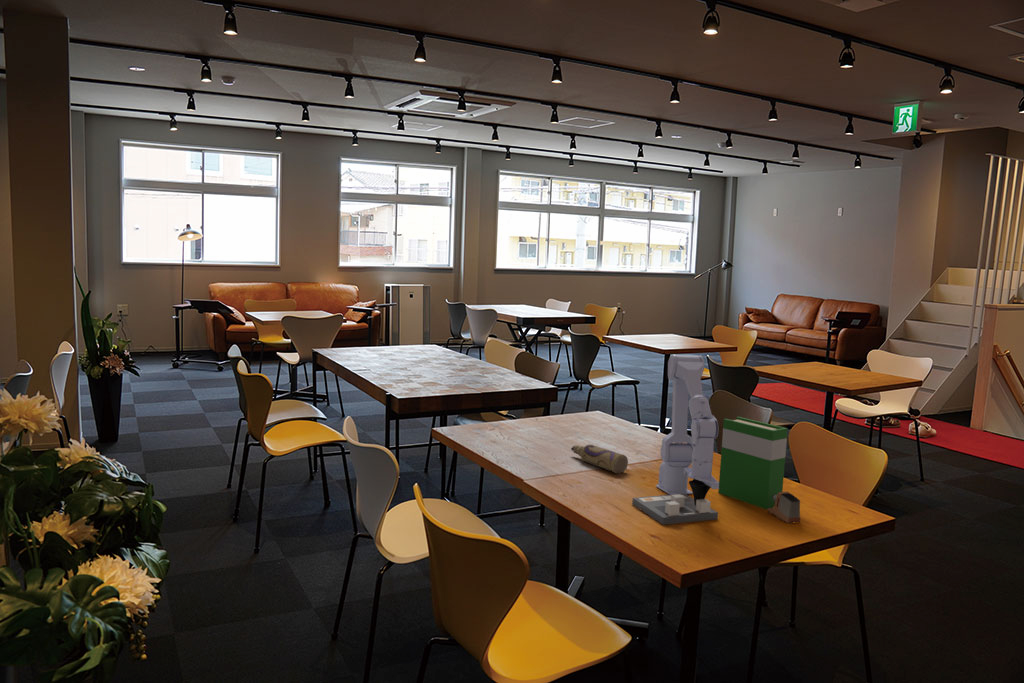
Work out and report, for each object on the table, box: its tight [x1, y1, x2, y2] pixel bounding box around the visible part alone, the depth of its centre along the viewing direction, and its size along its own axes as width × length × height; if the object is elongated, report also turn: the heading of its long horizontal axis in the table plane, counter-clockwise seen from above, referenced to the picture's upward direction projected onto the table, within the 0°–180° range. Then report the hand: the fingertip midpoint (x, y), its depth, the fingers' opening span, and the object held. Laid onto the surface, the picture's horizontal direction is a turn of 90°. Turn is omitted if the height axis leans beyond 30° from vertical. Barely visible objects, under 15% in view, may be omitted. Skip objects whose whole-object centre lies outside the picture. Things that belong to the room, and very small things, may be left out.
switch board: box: [632, 494, 719, 526], centre depth 211 cm, size 17×18×2 cm
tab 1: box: [665, 501, 680, 515], centre depth 203 cm, size 2×3×3 cm
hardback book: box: [717, 416, 789, 510], centre depth 225 cm, size 18×7×24 cm, turn 37°
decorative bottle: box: [571, 444, 629, 474], centre depth 258 cm, size 26×8×7 cm, turn 35°
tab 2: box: [696, 498, 711, 513], centre depth 207 cm, size 2×3×3 cm
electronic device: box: [767, 491, 801, 524], centre depth 210 cm, size 4×10×8 cm, turn 17°
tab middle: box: [671, 494, 685, 508], centre depth 210 cm, size 2×3×3 cm
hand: (698, 505), depth 209 cm, fingers closed
